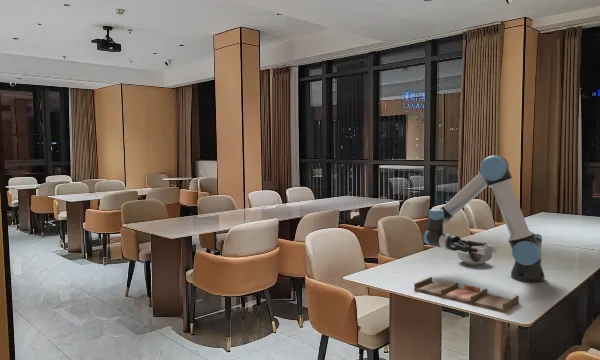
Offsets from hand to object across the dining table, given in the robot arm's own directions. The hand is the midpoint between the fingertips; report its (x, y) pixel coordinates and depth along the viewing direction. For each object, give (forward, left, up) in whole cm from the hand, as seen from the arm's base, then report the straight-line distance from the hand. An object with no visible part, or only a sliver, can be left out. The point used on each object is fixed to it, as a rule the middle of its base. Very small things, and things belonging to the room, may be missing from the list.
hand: (490, 250), depth 208 cm
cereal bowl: (-4, -49, -18) cm, 53 cm away
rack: (+14, +13, -18) cm, 26 cm away
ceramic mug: (+4, -5, -6) cm, 9 cm away
